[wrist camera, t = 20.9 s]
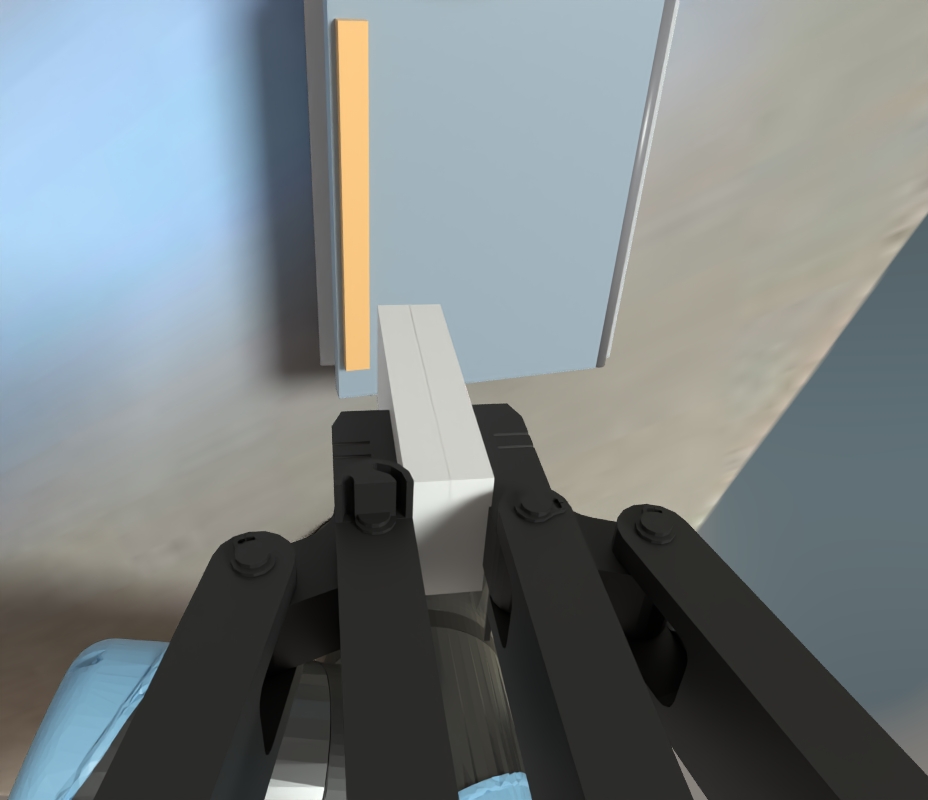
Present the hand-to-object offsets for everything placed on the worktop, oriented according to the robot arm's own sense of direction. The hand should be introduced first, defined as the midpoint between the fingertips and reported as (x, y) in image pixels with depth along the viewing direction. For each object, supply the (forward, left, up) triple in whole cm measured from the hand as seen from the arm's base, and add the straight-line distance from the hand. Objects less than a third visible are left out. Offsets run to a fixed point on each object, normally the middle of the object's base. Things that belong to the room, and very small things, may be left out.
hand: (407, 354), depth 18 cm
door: (-3, -6, -20) cm, 21 cm away
